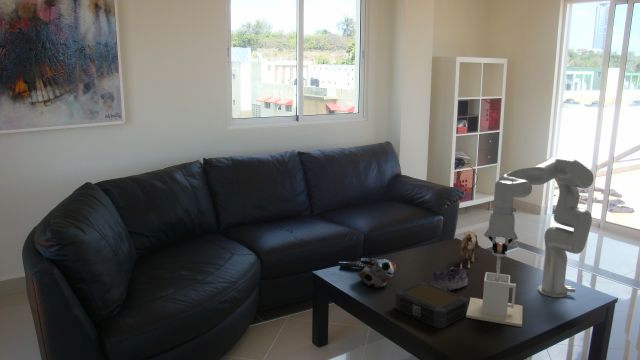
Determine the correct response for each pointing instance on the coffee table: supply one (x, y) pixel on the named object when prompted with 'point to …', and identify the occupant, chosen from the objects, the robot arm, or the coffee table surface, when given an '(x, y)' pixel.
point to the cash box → (431, 304)
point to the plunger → (499, 257)
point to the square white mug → (496, 302)
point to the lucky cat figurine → (378, 273)
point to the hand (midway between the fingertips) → (499, 252)
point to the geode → (450, 279)
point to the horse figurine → (468, 246)
